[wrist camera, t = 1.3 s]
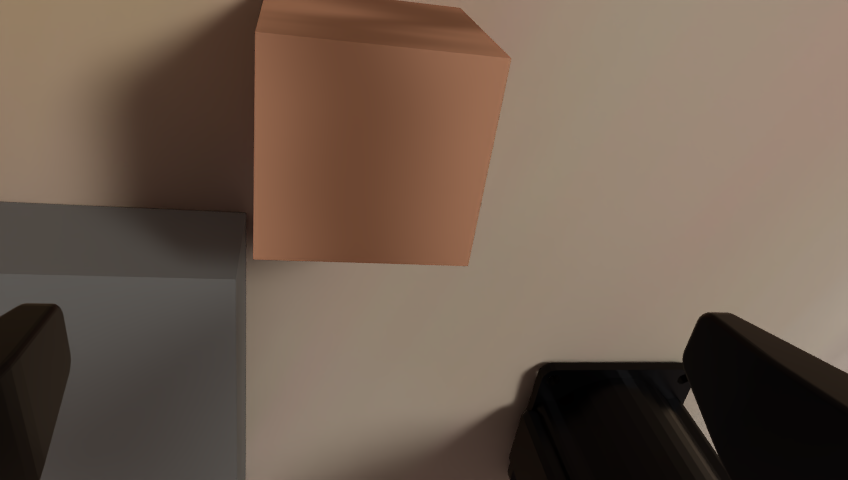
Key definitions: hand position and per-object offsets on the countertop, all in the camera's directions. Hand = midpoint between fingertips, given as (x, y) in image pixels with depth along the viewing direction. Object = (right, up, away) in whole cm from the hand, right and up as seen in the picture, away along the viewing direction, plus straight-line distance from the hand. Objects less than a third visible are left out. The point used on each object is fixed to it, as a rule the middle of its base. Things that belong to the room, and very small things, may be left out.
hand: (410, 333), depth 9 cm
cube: (-2, +5, +9) cm, 11 cm away
